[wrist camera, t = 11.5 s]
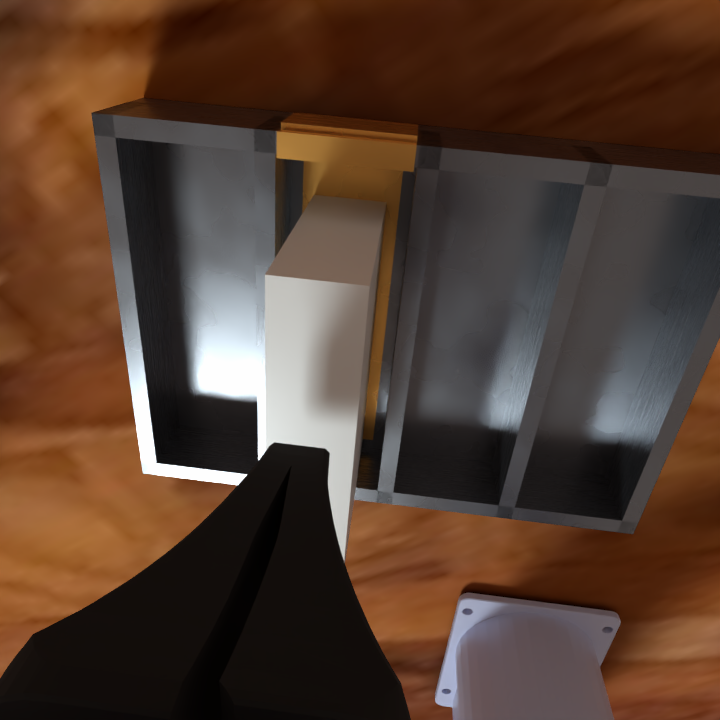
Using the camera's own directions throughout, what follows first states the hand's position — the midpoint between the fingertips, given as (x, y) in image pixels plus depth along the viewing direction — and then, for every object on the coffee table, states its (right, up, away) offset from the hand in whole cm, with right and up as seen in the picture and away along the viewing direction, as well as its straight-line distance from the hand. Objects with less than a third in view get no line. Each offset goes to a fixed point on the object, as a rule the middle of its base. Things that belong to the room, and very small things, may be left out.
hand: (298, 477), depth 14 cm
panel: (+1, +4, +8) cm, 9 cm away
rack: (+3, +5, +8) cm, 10 cm away
